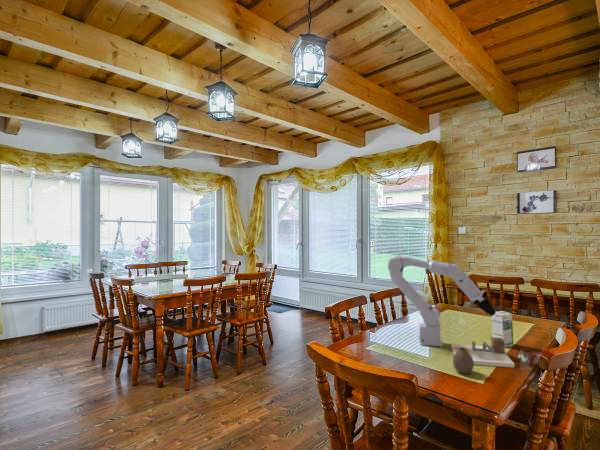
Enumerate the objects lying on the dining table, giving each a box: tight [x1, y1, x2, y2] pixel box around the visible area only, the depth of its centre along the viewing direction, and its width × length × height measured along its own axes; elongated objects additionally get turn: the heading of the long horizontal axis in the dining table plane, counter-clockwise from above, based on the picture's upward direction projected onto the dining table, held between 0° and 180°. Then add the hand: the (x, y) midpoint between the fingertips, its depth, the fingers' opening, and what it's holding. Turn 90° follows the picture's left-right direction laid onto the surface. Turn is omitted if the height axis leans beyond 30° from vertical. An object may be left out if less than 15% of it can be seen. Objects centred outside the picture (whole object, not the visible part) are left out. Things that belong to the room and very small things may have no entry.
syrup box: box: [491, 310, 514, 348], centre depth 153 cm, size 6×6×14 cm
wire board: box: [450, 343, 515, 369], centre depth 140 cm, size 20×18×2 cm
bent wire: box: [471, 341, 495, 352], centre depth 139 cm, size 8×9×4 cm
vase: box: [452, 347, 474, 375], centre depth 126 cm, size 7×7×9 cm
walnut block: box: [490, 336, 506, 353], centre depth 141 cm, size 4×4×5 cm
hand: (491, 313), depth 146 cm, fingers open, 7 cm apart
